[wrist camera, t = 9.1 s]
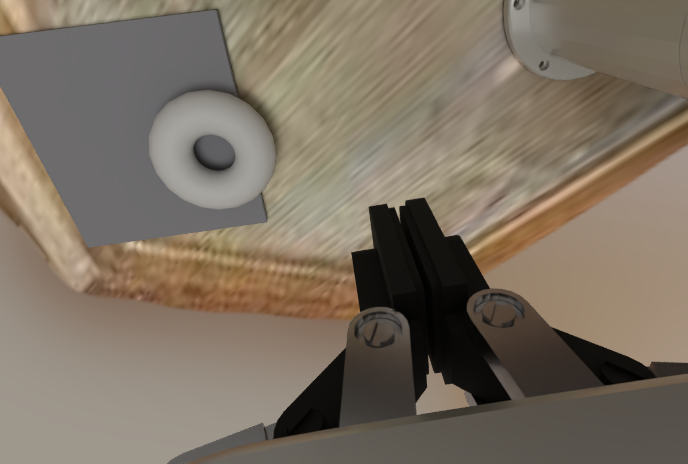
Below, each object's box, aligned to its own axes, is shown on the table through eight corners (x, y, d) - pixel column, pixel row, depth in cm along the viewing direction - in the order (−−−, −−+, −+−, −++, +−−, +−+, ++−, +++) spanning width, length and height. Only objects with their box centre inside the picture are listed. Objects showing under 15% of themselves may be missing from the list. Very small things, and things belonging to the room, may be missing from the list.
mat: (217, 9, 30) (215, 9, 29) (267, 217, 39) (267, 222, 39) (-18, 38, 29) (-26, 39, 28) (91, 242, 39) (88, 247, 38)
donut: (251, 69, 32) (130, 105, 32) (248, 78, 29) (115, 118, 29) (292, 180, 37) (188, 211, 37) (292, 198, 34) (180, 230, 34)
